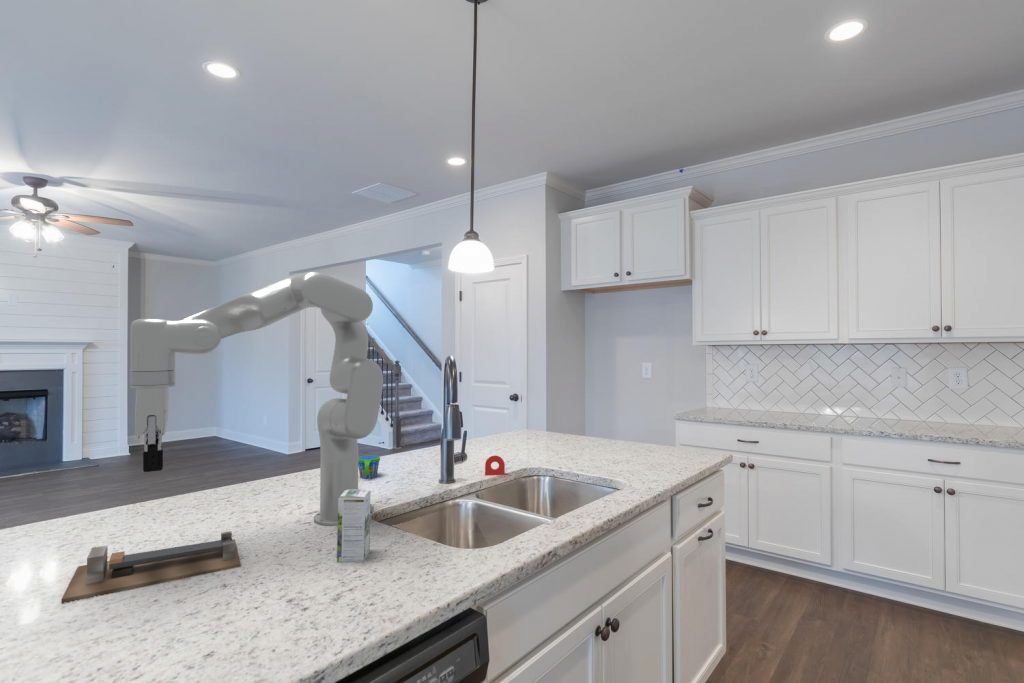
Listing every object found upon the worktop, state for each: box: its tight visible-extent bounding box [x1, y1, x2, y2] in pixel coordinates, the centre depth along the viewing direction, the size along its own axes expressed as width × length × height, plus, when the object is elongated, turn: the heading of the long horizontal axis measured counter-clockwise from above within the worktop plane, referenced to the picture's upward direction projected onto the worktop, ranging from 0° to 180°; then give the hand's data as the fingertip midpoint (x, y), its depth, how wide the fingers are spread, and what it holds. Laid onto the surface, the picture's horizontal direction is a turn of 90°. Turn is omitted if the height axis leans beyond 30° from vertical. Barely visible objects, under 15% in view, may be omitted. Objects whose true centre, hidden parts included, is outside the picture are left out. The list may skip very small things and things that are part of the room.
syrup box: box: [336, 488, 372, 563], centre depth 110 cm, size 6×6×14 cm
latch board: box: [60, 531, 242, 604], centre depth 105 cm, size 28×16×6 cm, turn 122°
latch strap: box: [108, 537, 233, 570], centre depth 106 cm, size 21×5×2 cm, turn 122°
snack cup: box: [358, 454, 381, 480], centre depth 179 cm, size 11×8×7 cm
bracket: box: [484, 455, 507, 476], centre depth 178 cm, size 12×4×8 cm, turn 91°
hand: (153, 470), depth 104 cm, fingers closed
